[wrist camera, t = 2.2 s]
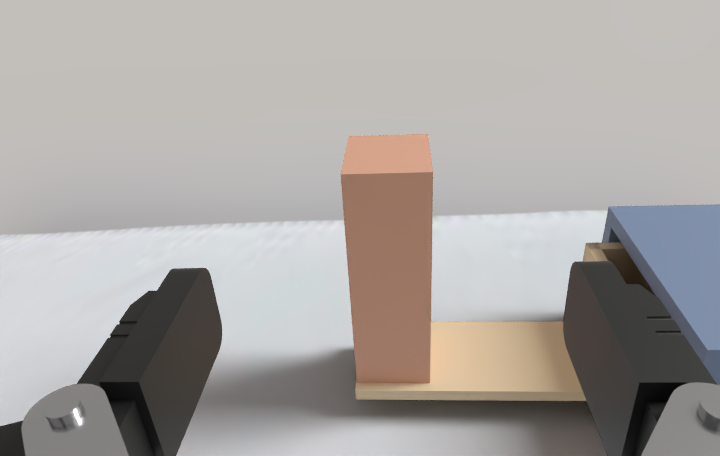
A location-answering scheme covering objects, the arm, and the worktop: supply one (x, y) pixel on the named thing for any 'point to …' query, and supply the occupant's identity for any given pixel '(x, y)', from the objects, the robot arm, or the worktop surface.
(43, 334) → the worktop surface
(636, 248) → the sleeve
